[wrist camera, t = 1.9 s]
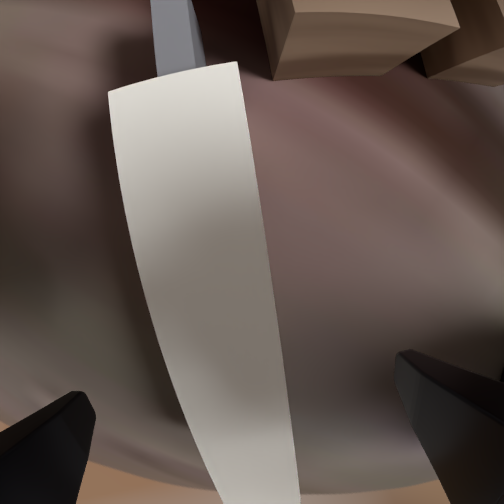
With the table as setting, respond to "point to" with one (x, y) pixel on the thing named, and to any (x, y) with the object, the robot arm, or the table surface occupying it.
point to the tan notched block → (385, 38)
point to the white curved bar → (206, 258)
